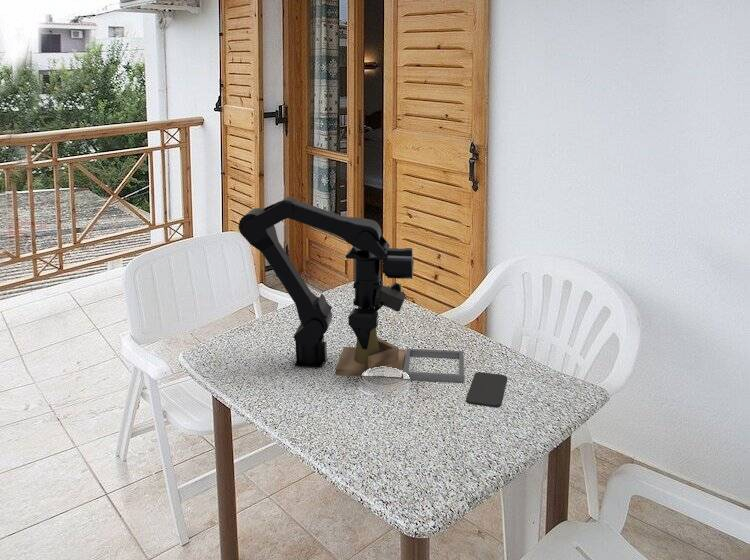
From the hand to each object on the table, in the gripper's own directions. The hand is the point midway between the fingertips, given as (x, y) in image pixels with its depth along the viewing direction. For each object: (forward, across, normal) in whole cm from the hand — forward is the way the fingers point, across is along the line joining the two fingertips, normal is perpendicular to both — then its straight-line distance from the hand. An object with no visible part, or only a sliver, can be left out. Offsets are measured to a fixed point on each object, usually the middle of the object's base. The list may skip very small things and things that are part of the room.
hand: (367, 340), depth 166 cm
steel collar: (+6, 0, -16) cm, 17 cm away
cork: (+5, 0, 0) cm, 5 cm away
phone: (+6, -10, -27) cm, 30 cm away
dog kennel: (+6, 0, 0) cm, 6 cm away
